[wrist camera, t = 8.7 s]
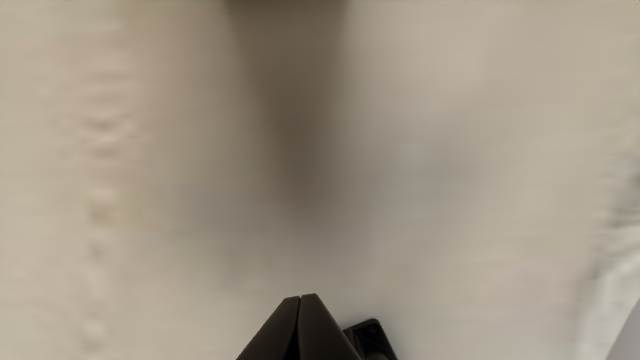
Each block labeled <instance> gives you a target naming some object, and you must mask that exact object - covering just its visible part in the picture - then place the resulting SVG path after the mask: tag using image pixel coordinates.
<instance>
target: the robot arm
mask: <svg viewBox="0 0 640 360" xmlns="http://www.w3.org/2000/svg"><path fill="white" fill-rule="evenodd" d="M374 325H375V326H376V327H374V328H372V326H374ZM236 360H398V359H397V357H396V355H395V353H394V351H393V349H392V346H391V344H390V342H389V340H388V338H387V336H386V334H385V332H384V330H383V328H382V326H381V324H380V322H379V321H378V320H377V319H369V320H367V321H364V322H362V323H359V324H357V325H354V326H352V327H349V328H347V329H344V330H341V329H340V327H339V326H338V324H337V323H336V321H335V320H334V318H333V317H332V315H331V314H330V313H329V311H328V310H327V308H326V307H325V305H324V304H323V302H322V301H321V299H320V298H319V296H318V295H317V294H316V293H313V294H307V295H302V296H301V298H300V296H295V297H288V298H285V299H284V300H283V301H282V302H281V303H280V305H279V306H278V307H277V308H276V310H275V311H274V312H273V314H272V315H271V316H270V317H269V319H268V320H267V321H266V322H265V324H264V325H263V326H262V327H261V329H260V330H259V331H258V332H257V334H256V335H255V336H254V337H253V339H252V340H251V341H250V342H249V344H248V345H247V346H246V347H245V349H244V350H243V351H242V353H241V354H240V355H239V356H238V358H237V359H236Z"/></svg>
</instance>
